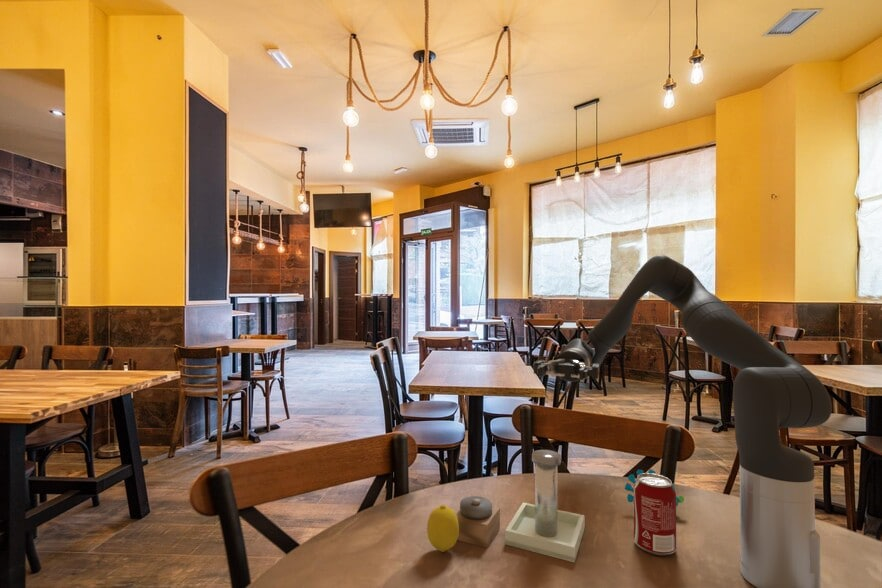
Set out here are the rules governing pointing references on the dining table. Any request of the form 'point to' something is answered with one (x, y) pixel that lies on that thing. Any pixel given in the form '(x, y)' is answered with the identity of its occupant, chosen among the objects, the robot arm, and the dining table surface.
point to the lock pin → (546, 491)
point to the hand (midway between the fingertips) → (560, 373)
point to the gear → (632, 479)
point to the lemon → (443, 528)
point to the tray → (558, 546)
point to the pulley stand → (477, 521)
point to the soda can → (655, 514)
